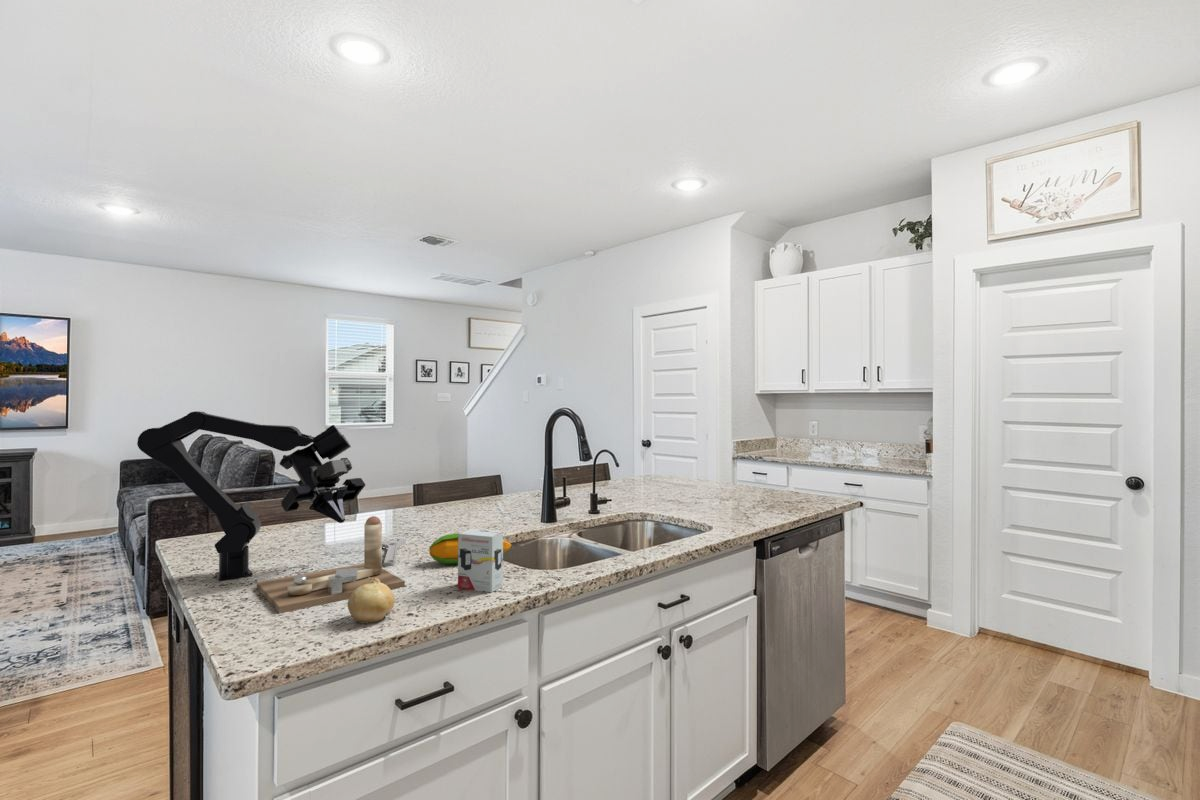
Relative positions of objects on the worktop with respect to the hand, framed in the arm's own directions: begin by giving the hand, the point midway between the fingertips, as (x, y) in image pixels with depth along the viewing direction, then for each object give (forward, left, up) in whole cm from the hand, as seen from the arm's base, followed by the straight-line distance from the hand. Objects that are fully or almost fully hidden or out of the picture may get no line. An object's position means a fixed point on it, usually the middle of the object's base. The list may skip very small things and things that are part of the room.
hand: (342, 521), depth 132 cm
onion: (+31, -5, -13) cm, 34 cm away
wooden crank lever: (+9, -4, -11) cm, 15 cm away
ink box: (+28, +19, -13) cm, 36 cm away
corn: (+8, +28, -13) cm, 32 cm away
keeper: (+14, -7, -11) cm, 19 cm away
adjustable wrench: (-13, +16, -13) cm, 24 cm away
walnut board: (+7, -5, -12) cm, 15 cm away
